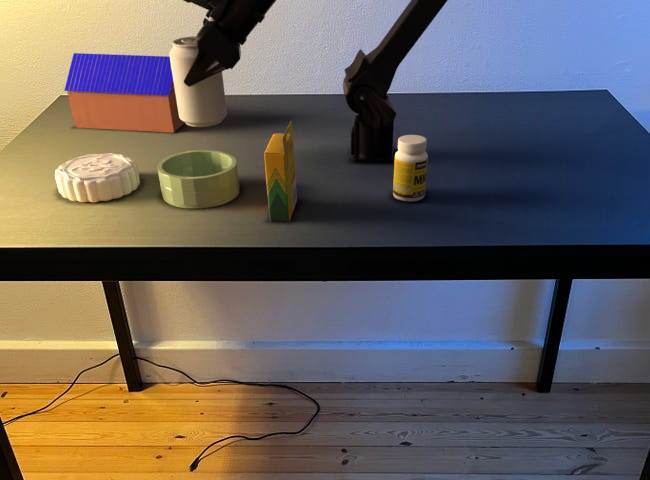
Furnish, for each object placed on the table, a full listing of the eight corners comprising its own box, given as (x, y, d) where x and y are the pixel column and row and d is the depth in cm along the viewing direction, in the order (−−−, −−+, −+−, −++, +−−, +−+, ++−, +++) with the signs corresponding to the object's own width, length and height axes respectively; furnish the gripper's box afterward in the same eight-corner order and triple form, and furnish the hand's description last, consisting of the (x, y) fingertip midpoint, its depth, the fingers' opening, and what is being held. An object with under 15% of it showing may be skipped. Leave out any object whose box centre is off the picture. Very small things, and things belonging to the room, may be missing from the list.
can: (220, 129, 105) (209, 45, 97) (173, 128, 106) (159, 44, 98) (233, 114, 111) (224, 34, 103) (189, 113, 112) (176, 33, 104)
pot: (246, 179, 106) (243, 150, 103) (230, 209, 97) (227, 179, 94) (174, 177, 107) (170, 148, 104) (152, 207, 98) (147, 177, 95)
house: (174, 133, 124) (164, 65, 117) (73, 127, 127) (57, 61, 120) (197, 113, 133) (189, 49, 126) (102, 108, 136) (89, 45, 129)
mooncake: (100, 209, 97) (95, 185, 95) (42, 193, 102) (35, 170, 100) (156, 180, 106) (153, 158, 104) (100, 167, 111) (95, 145, 108)
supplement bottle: (415, 205, 98) (419, 147, 93) (387, 198, 100) (389, 141, 95) (430, 193, 101) (434, 137, 96) (402, 187, 103) (405, 131, 98)
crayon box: (277, 199, 100) (272, 119, 93) (297, 200, 99) (293, 119, 92) (268, 221, 94) (262, 137, 87) (289, 222, 93) (284, 137, 86)
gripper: (214, -58, 102) (153, 25, 108) (203, -43, 87) (133, 53, 93) (271, -1, 107) (209, 75, 113) (270, 23, 92) (199, 109, 98)
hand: (188, 77), depth 104 cm, fingers closed on can, 7 cm apart
